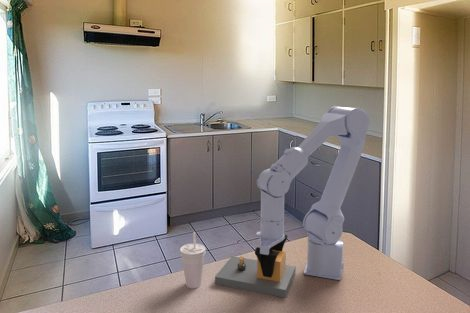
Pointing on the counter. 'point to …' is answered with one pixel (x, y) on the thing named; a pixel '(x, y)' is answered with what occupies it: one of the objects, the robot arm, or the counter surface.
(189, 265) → the smoothie
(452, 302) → the counter surface
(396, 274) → the counter surface
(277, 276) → the amber cube
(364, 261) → the counter surface
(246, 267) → the flat grey tile
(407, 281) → the counter surface
